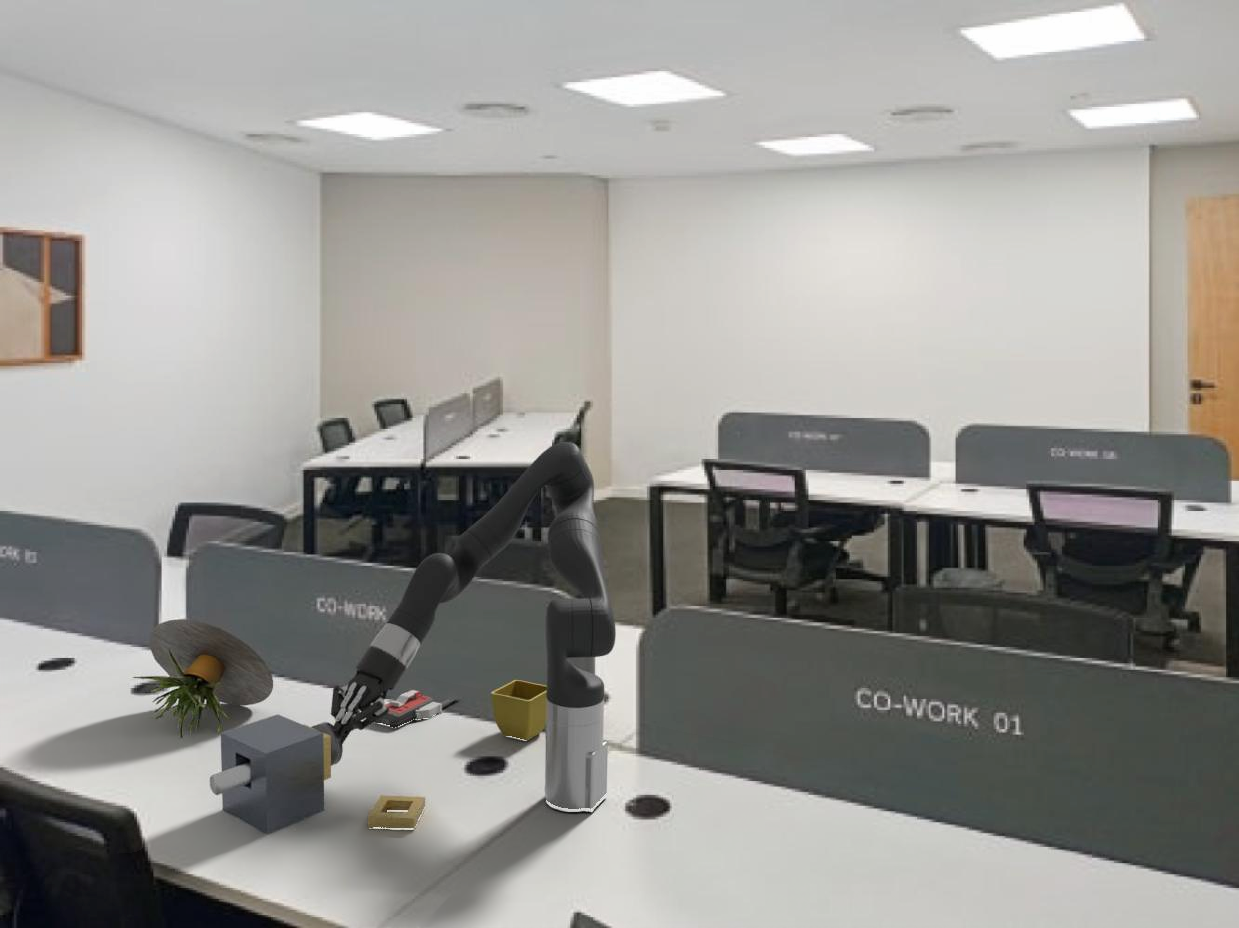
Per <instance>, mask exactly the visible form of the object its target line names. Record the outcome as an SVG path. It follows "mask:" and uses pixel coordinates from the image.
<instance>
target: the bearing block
mask: <svg viewBox="0 0 1239 928" xmlns="http://www.w3.org/2000/svg"><path fill="white" fill-rule="evenodd" d="M305 725H306V724H305ZM305 725H304V724H302V723H299V722H298V721H295V720H292V719H290V718H288V717H285V716H282V715H280V714H275V715H271V716H268V717H266V718H265V717H264V718H263V719H260V720H256V721H253V722H250V723H246V724H244V725H240V726H237V727H234V728H231V729H228V730H225V731H222V732H220V755H221V757H220V759H221V761H220V763H221V765H220V766H221V772H222V771H225V770H228V769H231V768H234V767H236V766H239V765H242V764H245V763H248V762H250V761H251V783H249V784H246V785H243V786H240V787H238V788H235V789H232V790H230V791H227V792H224V793H222V794H221V797H222V810H223V811H224V812H225V813H228V814H229V815H231V816H233V817H235V818H236V819H239V820H240V821H242V822H244V823H246V824H247V825H249V826H252V827H253V828H256V829H257V830H258V831H261V832H263V833H265V835H269V834H271V833H274V832H277V831H279V830H281V829H283V828H286V827H288V826H290V825H293V824H295V823H298V822H299V821H302V820H305V819H306V818H308V817H312V816H314V815H316V814H318V813H321V812H324V811H325V780H324V749H323V733H321V732H319V731H317V730H314V729H312V728H309V727H310V726H309V727H307V726H308V725H307V726H305Z"/></svg>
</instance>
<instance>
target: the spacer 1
mask: <svg viewBox="0 0 1239 928" xmlns="http://www.w3.org/2000/svg"><path fill="white" fill-rule="evenodd" d="M303 725H305V726H307V727H309V728H312V726H309V725H307V724H303ZM312 729H314V728H312ZM314 730H316V729H314ZM317 731H319V730H317ZM319 732H321V731H319ZM321 733H323V732H321ZM323 749H324V781H326V780H329V779H331V778H332V766H331V736H330V735H328V734H325V733H323Z"/></svg>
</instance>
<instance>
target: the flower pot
mask: <svg viewBox="0 0 1239 928" xmlns="http://www.w3.org/2000/svg"><path fill="white" fill-rule="evenodd" d="M546 692H547V684H546V685H545V684H540V683H539V684H538V683H534V682H529V681H526V680H520V679H519V680H518V679H514V680H512V681H511V682H508V683H506V684H504V685H503V686H500V687H499V688H497V689H495V690H493V691H491V692H490V699H491V705H492V706H491V707H492V712H493V716H494V721H495V723H496V726H497V728H498V730H499V731H500V733H501V734H502V735H503V736H504V735H505V736H512V737H516V738H520V739H524V740H528V739H530V738H531V737H533V736H535V735H537V734H538V735H540V734H541V733H542V731H543V730H544V728H546V698H547V697H546ZM538 735H537V736H538ZM505 736H504V737H505ZM535 737H536V736H535ZM533 738H534V737H533ZM530 740H531V739H530Z"/></svg>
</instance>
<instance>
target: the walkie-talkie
mask: <svg viewBox="0 0 1239 928" xmlns="http://www.w3.org/2000/svg"><path fill="white" fill-rule="evenodd" d="M449 705H450V700H449V698H447V699H446V700H443V701H441V702H435V701H434V699H433V698H432V697H431V696H427V695H423V692H422V691H419V690H414V689H411V690H408V691H406V692H404V693H402V694H400V695H399V696H398V697H397V698H396V699H394V700H389V703H385V706H386V707H388V708H389V712H388V713H387V714H386V715H384V716H383V717H381V718H379V719H378V720H376V721H375V723H383V724H386V725H390V727H393V728H392V729H394V728H395V727H398V726H400V725H402V724H404V723H407V722H409V721H411V720H413V719H417V720H418V719H423V718H430V717H431V718H433V717H434V716H433V715H435V714H437V713H440V714H442V712H443V708H445V707H447V706H449ZM437 715H438V714H437ZM432 716H433V717H432ZM435 716H436V715H435ZM431 718H430V719H431ZM390 727H389V728H390Z"/></svg>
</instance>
